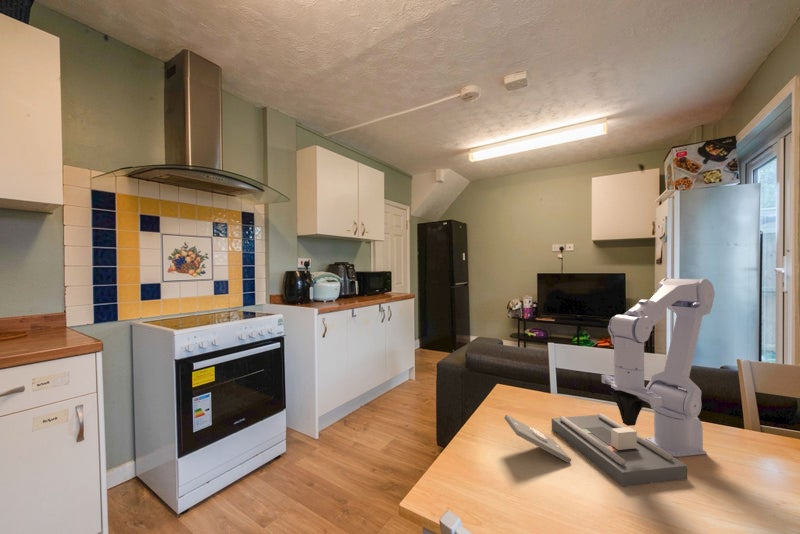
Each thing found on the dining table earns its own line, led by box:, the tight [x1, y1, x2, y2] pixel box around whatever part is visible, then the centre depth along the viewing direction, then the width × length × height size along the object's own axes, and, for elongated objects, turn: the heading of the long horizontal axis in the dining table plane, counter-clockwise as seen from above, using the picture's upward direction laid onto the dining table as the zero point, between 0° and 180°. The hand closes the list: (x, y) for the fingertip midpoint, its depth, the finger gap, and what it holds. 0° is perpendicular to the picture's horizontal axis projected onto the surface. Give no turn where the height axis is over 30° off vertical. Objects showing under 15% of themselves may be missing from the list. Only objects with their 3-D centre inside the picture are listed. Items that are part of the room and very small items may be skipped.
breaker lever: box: [611, 426, 638, 450], centre depth 75 cm, size 5×2×4 cm, turn 98°
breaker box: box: [551, 414, 689, 488], centre depth 79 cm, size 16×24×3 cm, turn 8°
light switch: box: [504, 414, 572, 464], centre depth 78 cm, size 8×6×14 cm
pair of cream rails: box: [559, 412, 674, 466], centre depth 79 cm, size 13×21×1 cm, turn 8°
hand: (629, 424), depth 73 cm, fingers closed
